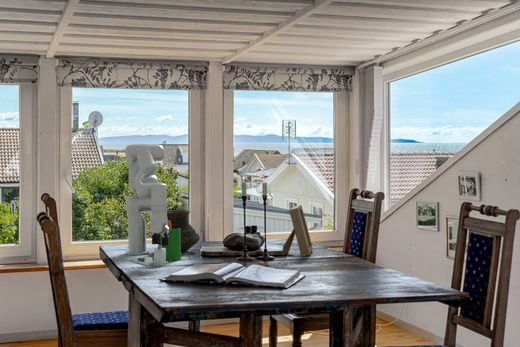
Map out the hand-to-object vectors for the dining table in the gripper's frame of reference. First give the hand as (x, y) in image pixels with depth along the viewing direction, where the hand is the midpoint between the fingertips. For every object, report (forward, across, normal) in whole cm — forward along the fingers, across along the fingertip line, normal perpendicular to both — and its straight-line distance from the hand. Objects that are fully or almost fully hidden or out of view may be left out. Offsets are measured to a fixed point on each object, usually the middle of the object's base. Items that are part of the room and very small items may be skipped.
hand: (160, 244), depth 327 cm
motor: (+10, -14, +13) cm, 21 cm away
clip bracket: (+10, -14, +1) cm, 17 cm away
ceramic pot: (+9, -35, +29) cm, 46 cm away
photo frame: (+10, +13, +74) cm, 76 cm away
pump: (+10, -1, 0) cm, 10 cm away
